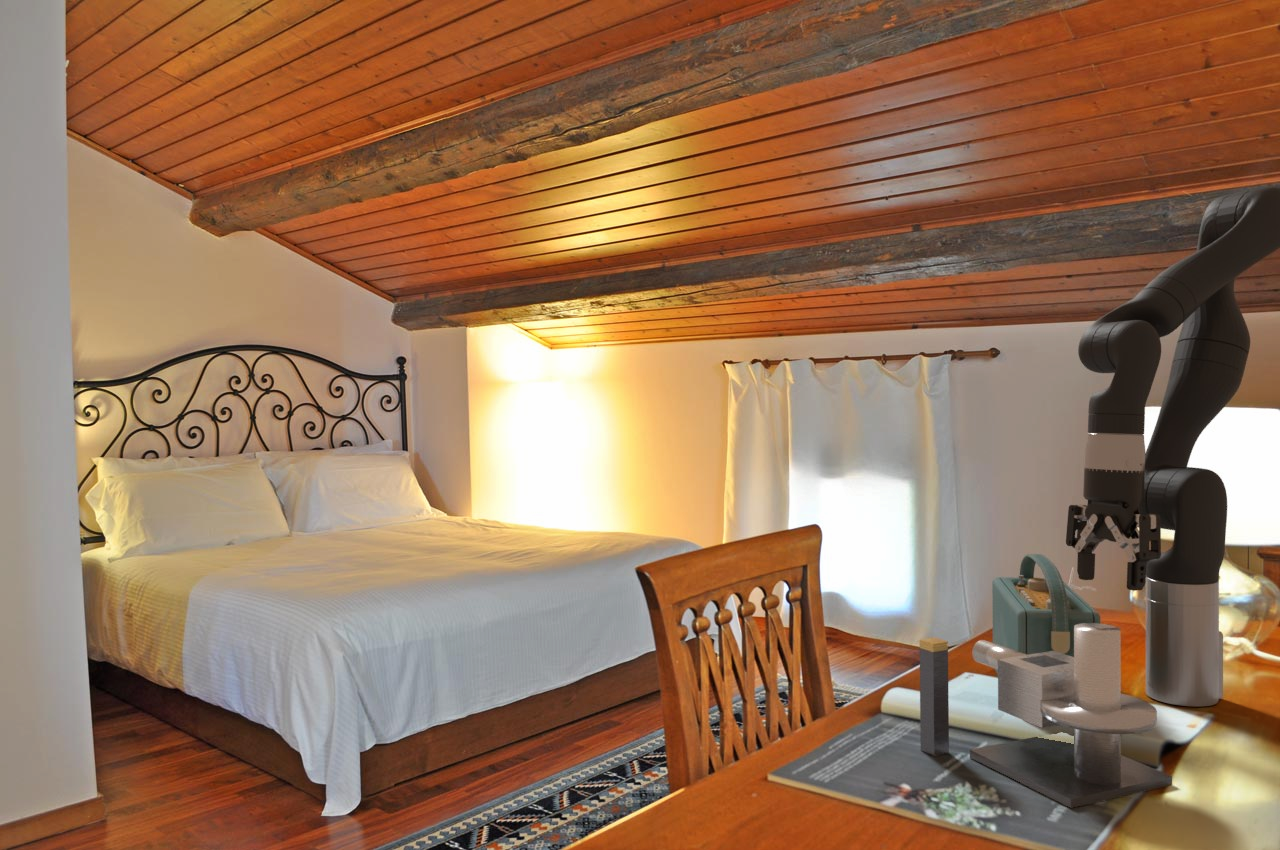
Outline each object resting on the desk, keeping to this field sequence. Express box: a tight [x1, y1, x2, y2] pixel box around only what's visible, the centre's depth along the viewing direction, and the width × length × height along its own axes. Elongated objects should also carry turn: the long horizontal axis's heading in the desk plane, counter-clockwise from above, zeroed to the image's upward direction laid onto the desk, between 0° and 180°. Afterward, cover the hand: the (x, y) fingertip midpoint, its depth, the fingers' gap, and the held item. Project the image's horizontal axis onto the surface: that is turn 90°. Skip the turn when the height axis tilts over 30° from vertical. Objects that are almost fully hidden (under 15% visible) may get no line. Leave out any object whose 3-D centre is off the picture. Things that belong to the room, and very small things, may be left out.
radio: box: [991, 553, 1101, 676], centre depth 146 cm, size 26×11×20 cm, turn 168°
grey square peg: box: [919, 636, 950, 757], centre depth 124 cm, size 2×2×14 cm
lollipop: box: [1067, 567, 1097, 592], centre depth 181 cm, size 6×10×12 cm, turn 44°
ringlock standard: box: [969, 623, 1173, 809], centre depth 119 cm, size 15×25×18 cm, turn 22°
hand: (1109, 584), depth 136 cm, fingers open, 8 cm apart
